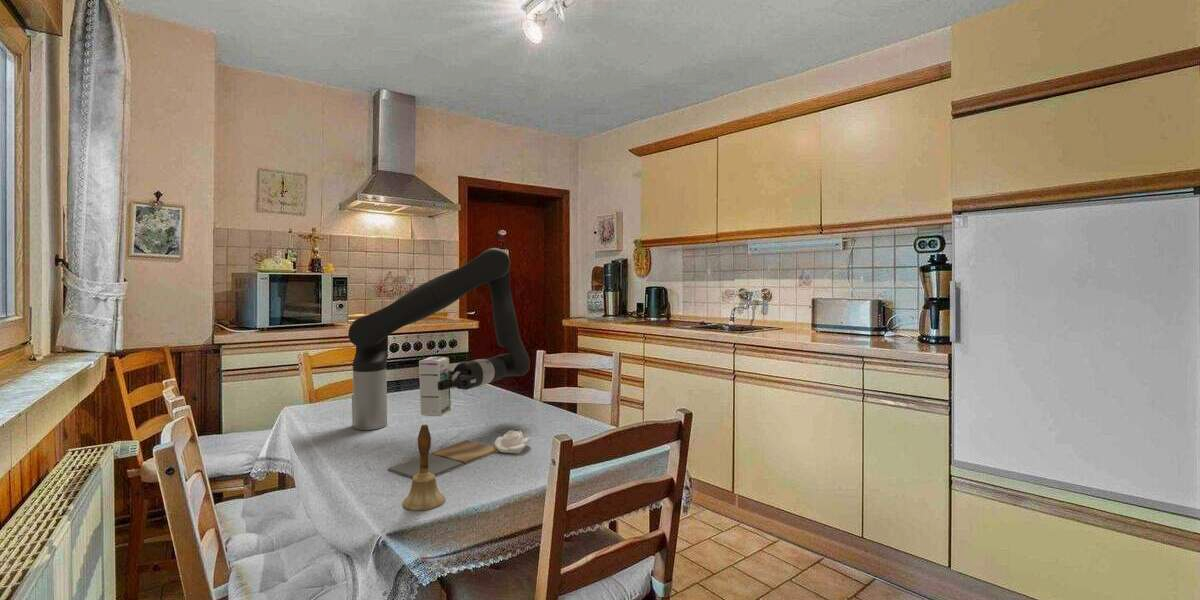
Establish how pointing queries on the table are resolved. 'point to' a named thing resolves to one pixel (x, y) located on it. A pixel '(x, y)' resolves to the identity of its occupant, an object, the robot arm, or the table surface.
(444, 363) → the syrup box
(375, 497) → the table surface
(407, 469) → the dark slate pad
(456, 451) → the honey oak pad
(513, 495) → the table surface
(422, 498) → the hand bell
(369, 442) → the table surface
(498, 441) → the rose
